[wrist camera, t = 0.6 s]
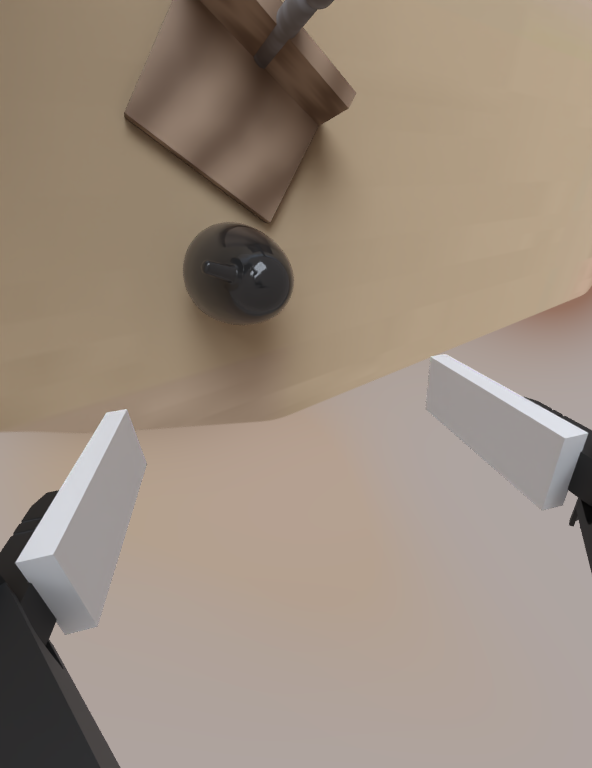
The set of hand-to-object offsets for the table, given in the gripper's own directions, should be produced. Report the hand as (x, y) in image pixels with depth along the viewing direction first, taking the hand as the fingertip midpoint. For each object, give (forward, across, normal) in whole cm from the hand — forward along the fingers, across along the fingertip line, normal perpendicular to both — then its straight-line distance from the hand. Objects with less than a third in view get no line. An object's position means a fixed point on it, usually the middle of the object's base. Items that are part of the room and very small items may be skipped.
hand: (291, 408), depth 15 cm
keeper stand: (+30, +2, +17) cm, 35 cm away
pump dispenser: (+29, -2, +3) cm, 30 cm away
